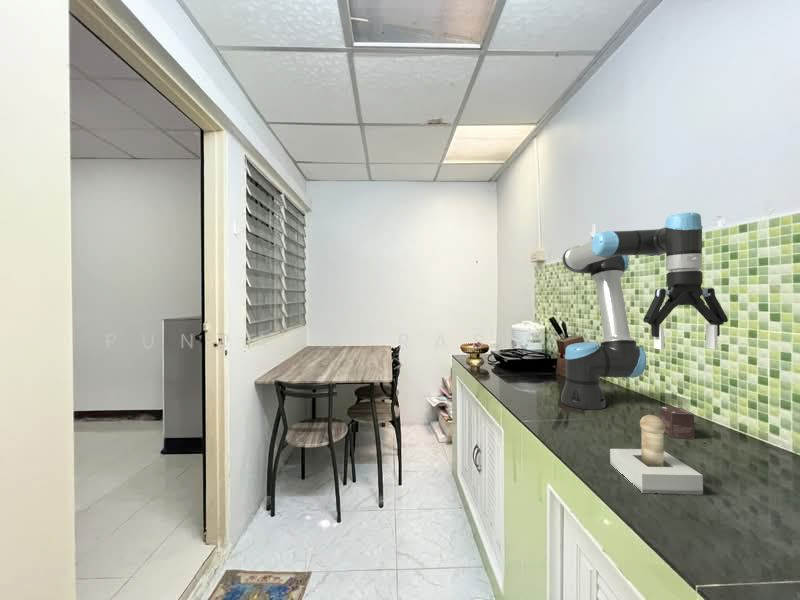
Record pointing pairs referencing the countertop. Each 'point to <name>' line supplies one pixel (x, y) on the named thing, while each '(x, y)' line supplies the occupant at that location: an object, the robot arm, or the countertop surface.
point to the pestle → (652, 441)
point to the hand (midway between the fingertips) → (685, 349)
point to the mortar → (657, 473)
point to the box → (678, 422)
